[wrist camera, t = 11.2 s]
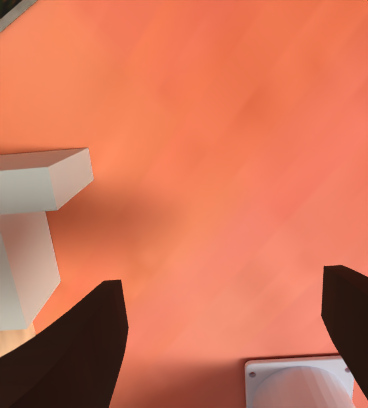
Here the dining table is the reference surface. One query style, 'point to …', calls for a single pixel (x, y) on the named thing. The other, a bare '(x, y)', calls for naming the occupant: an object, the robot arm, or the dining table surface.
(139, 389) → the dining table surface
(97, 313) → the robot arm
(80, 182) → the grey stepped block
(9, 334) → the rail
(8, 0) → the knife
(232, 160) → the dining table surface
